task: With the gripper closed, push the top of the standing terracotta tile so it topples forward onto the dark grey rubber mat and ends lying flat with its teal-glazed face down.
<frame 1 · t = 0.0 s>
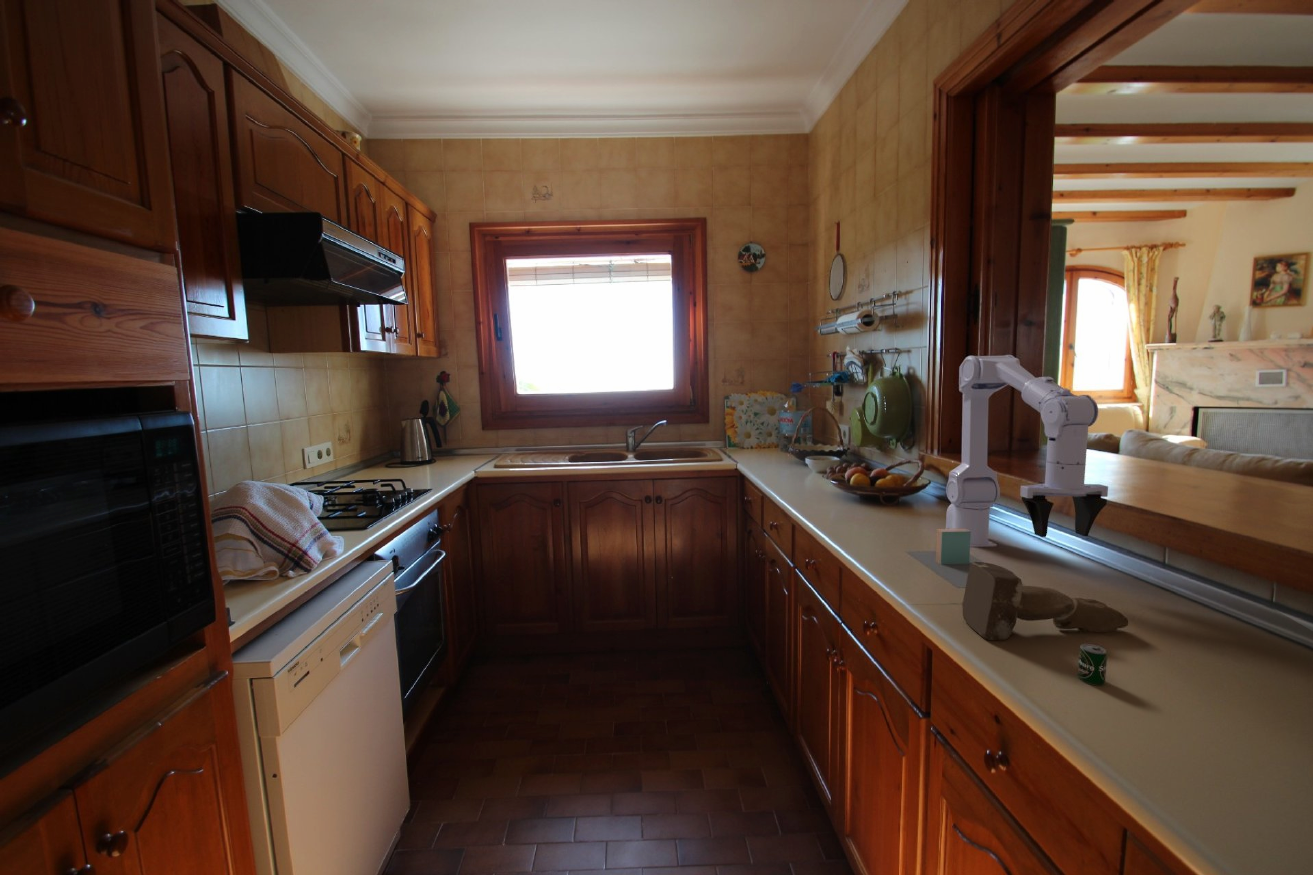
hand: (1060, 535, 100), 10 cm above the worktop, tool pointing down, fingers open, 7 cm apart
tile: (952, 562, 114), resting on mat
beer can: (1091, 681, 71), on the worktop
sculpture: (1045, 632, 85), on the worktop
mat: (960, 568, 111), on the worktop
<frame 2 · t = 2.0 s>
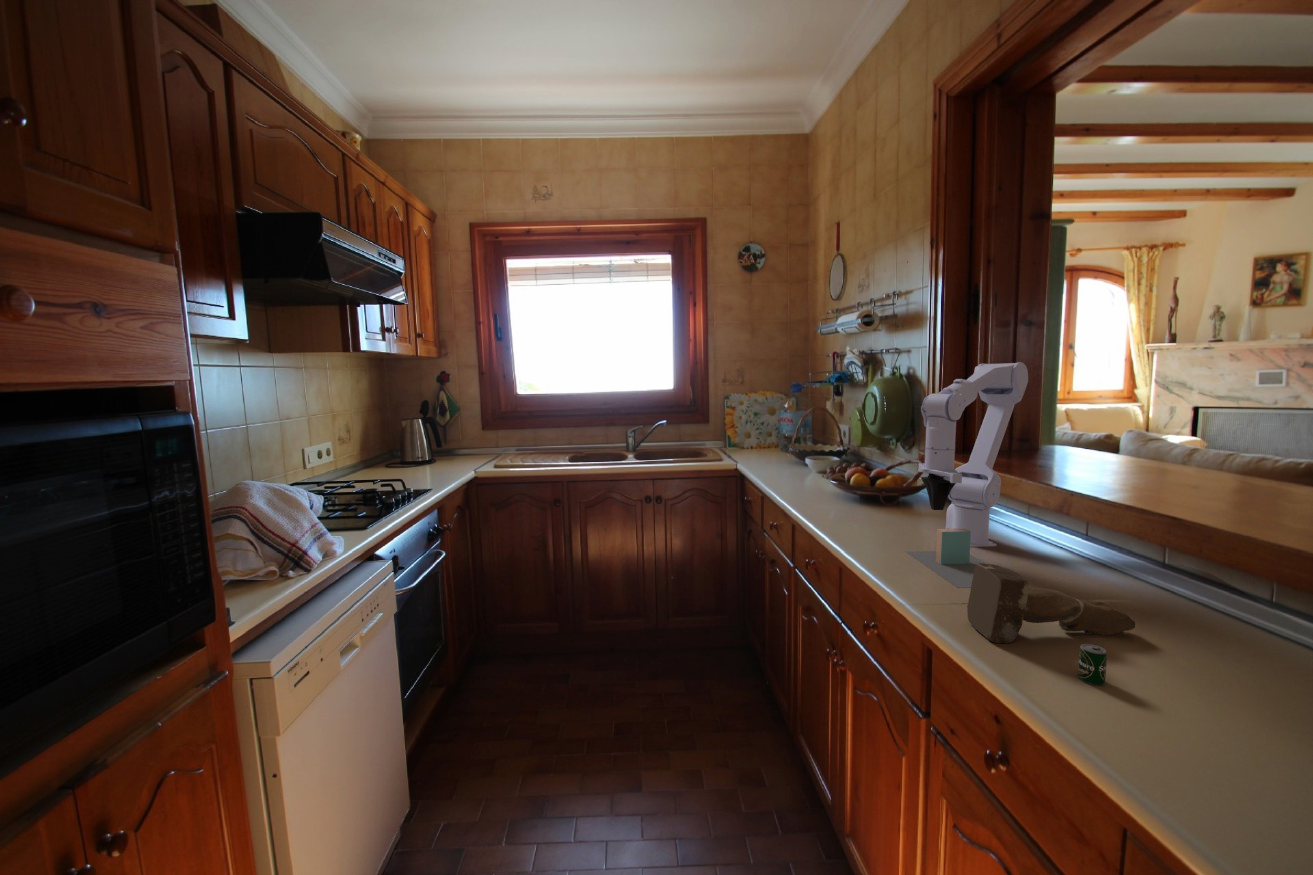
hand: (937, 509, 120), 10 cm above the worktop, tool pointing down, fingers closed
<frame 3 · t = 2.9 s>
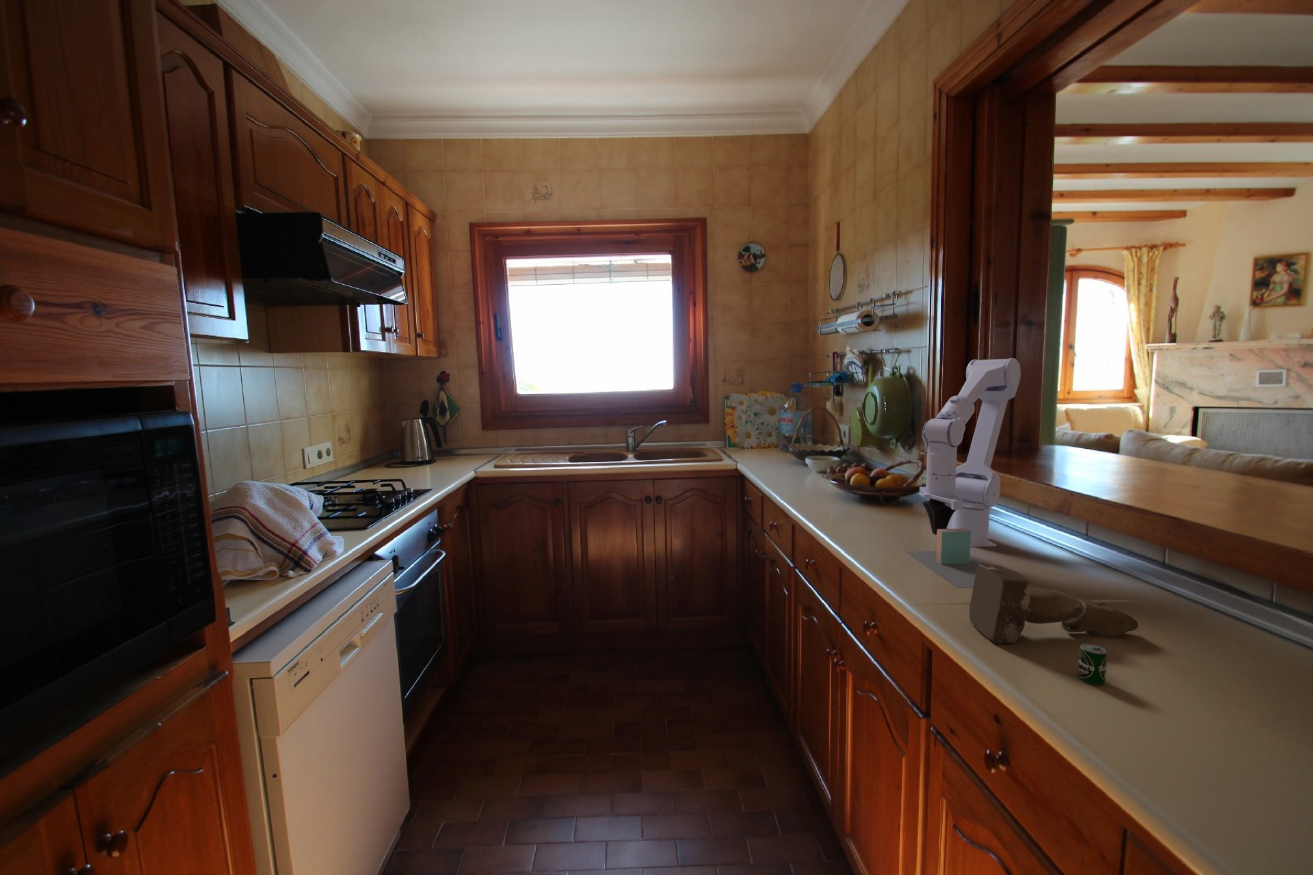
hand: (938, 534, 120), 5 cm above the worktop, tool pointing down, fingers closed
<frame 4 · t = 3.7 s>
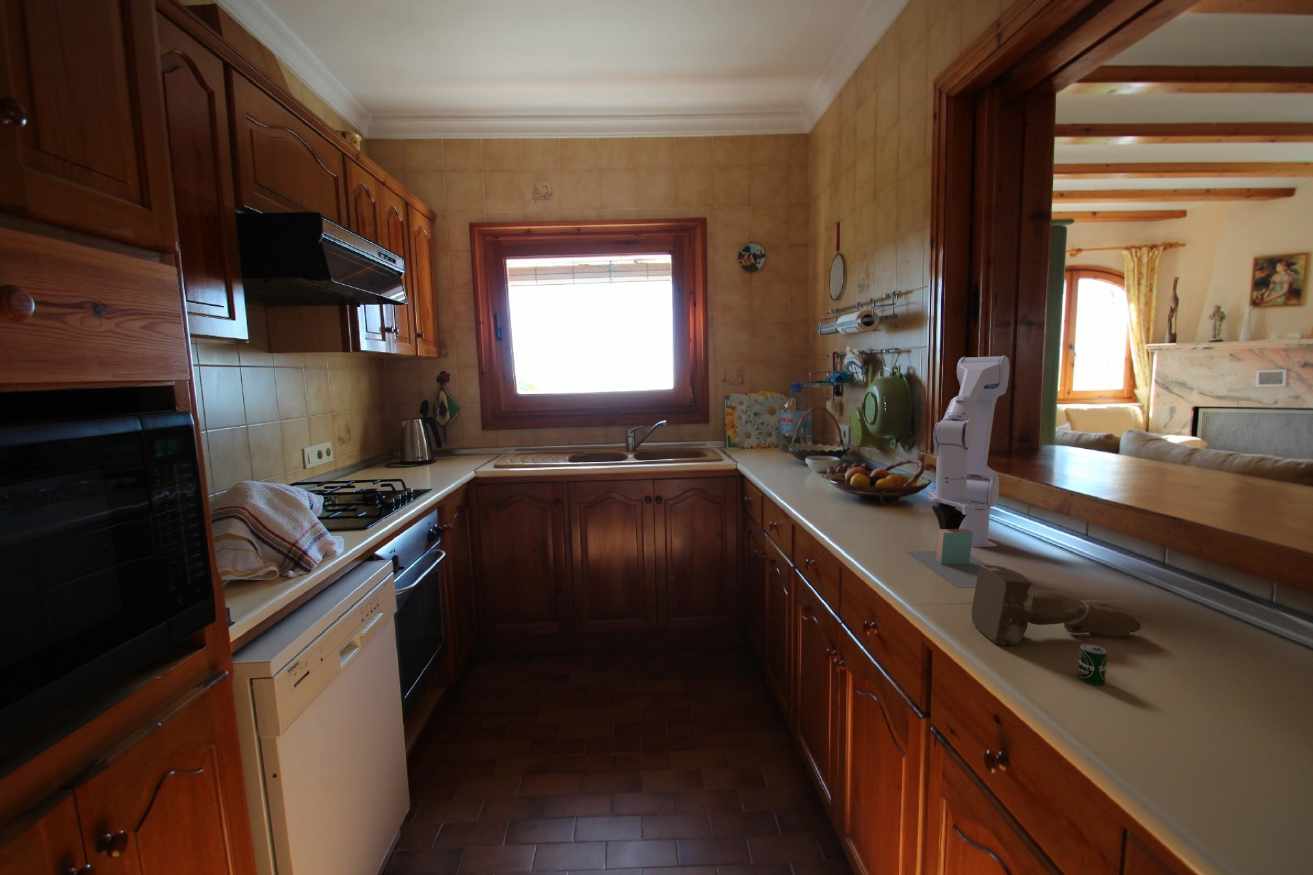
hand: (948, 539, 116), 5 cm above the worktop, tool pointing down, fingers closed
tile: (952, 561, 114), resting on mat, tilted 6°
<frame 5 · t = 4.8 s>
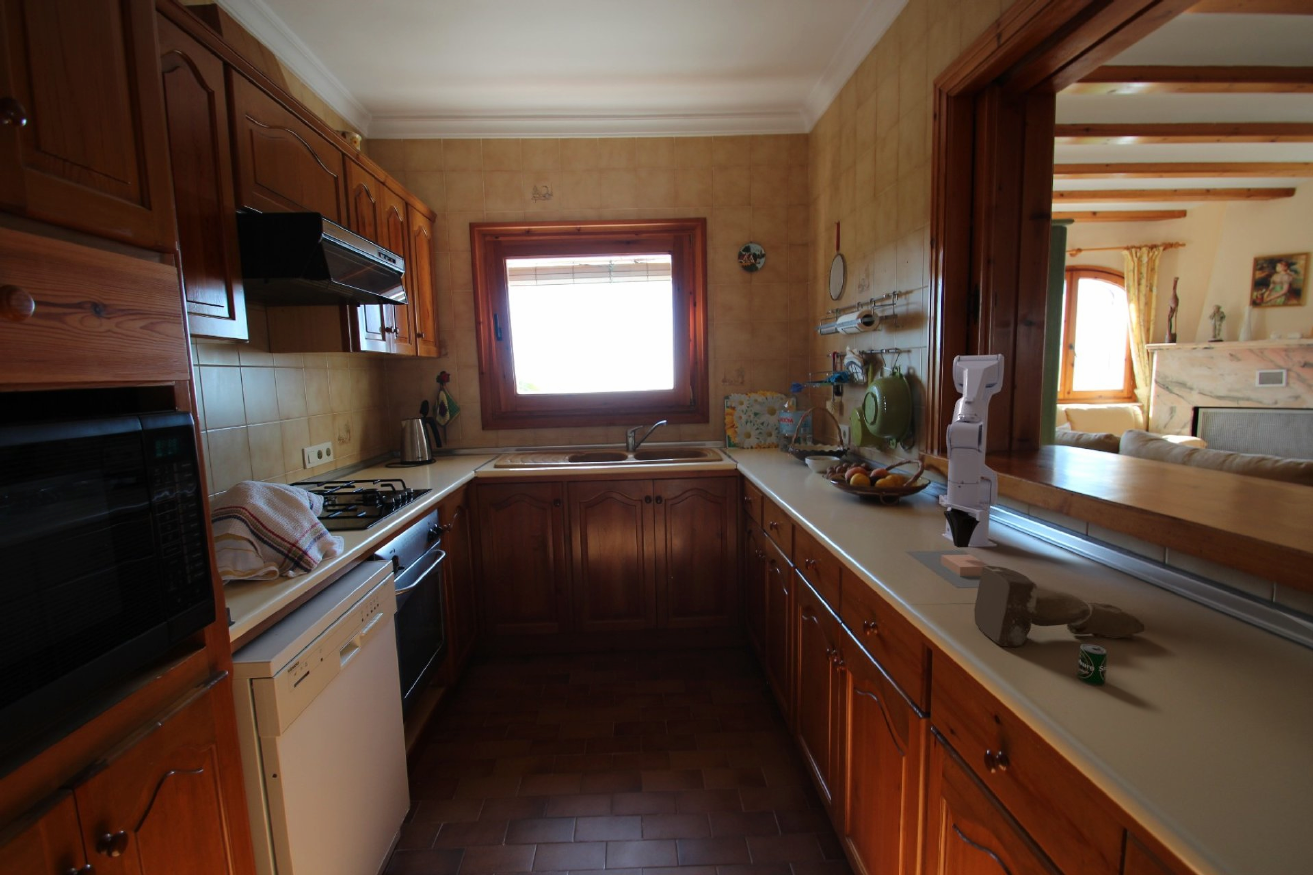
hand: (961, 546, 111), 5 cm above the worktop, tool pointing down, fingers closed
tile: (955, 559, 113), point 1 cm above the worktop, tilted 90°, touching mat
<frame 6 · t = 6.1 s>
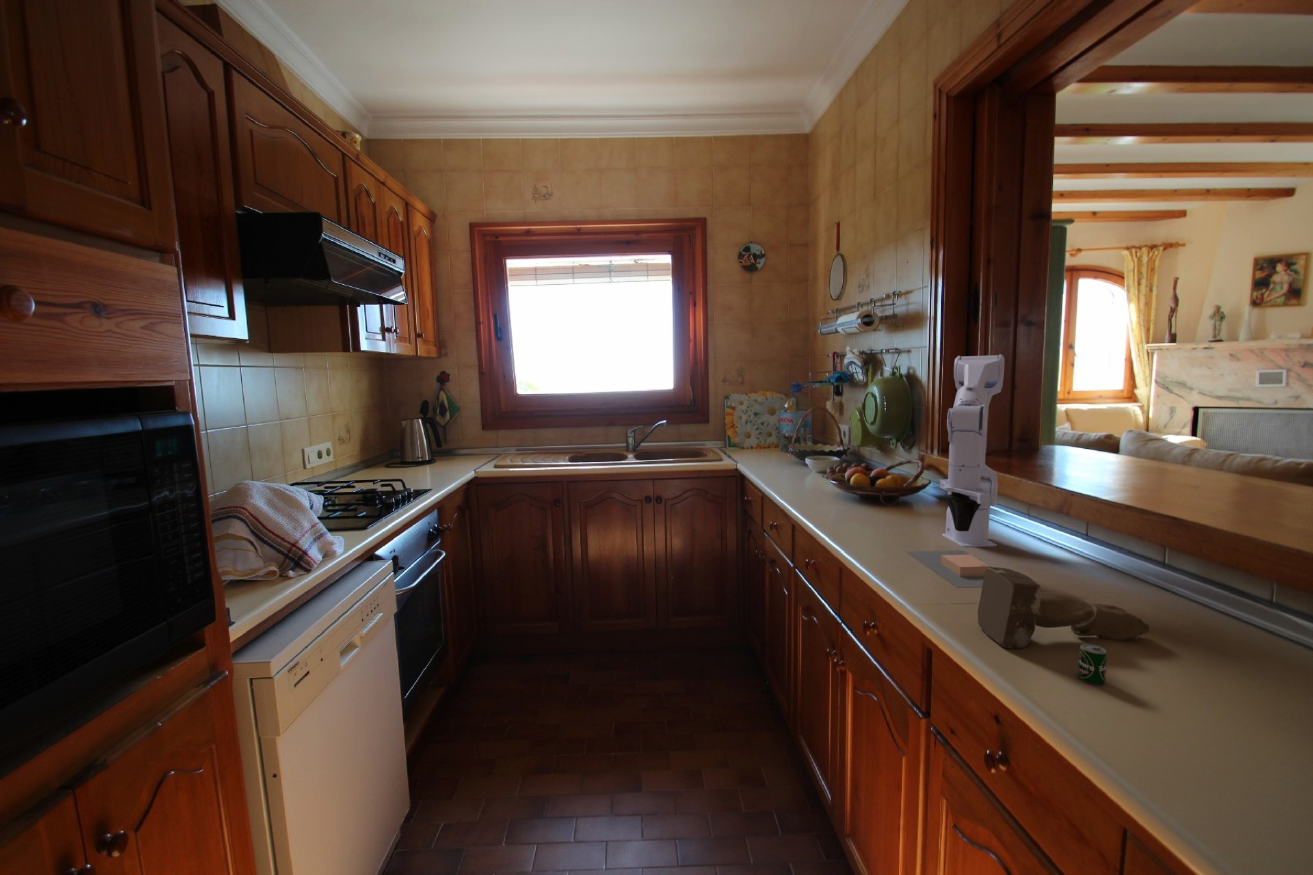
hand: (961, 530, 111), 8 cm above the worktop, tool pointing down, fingers closed
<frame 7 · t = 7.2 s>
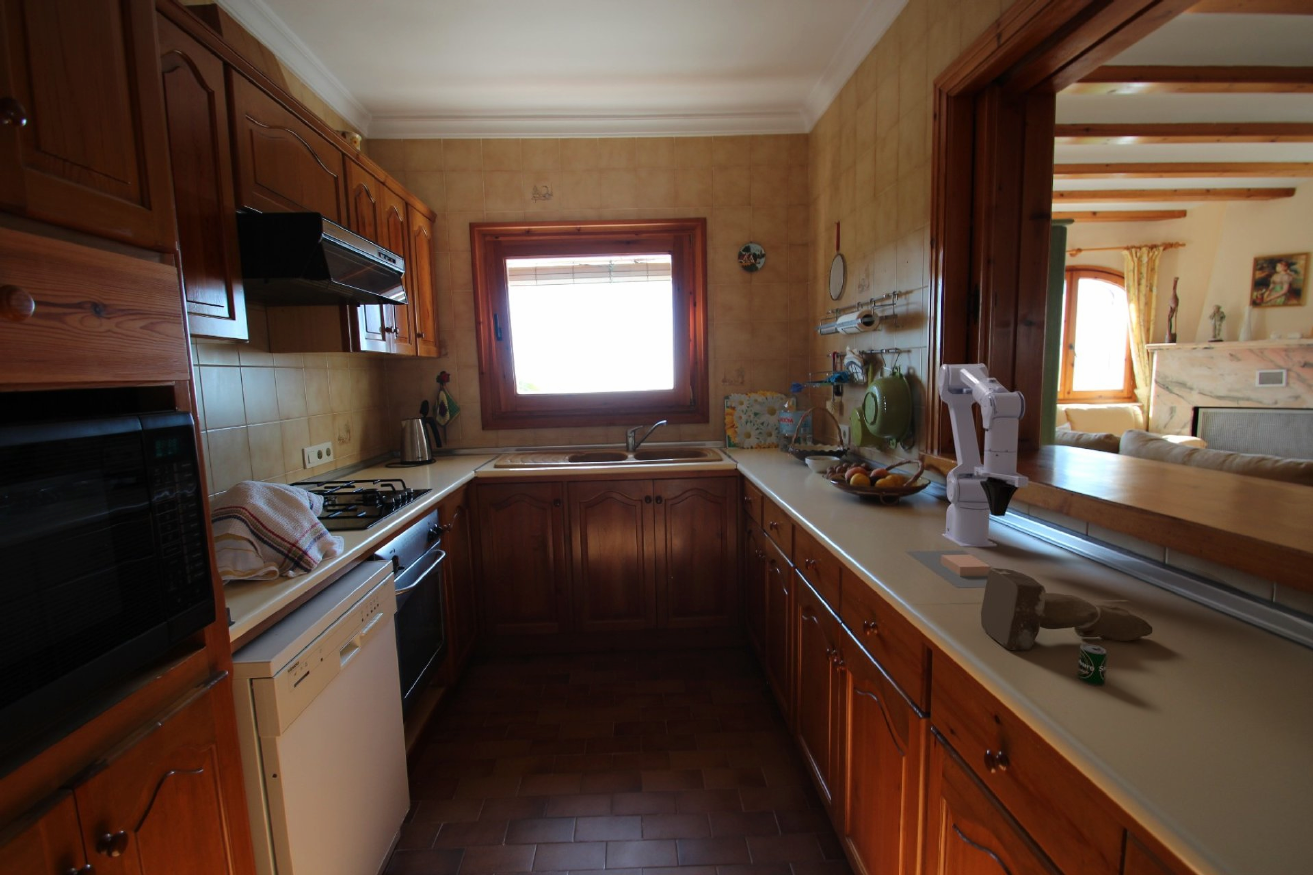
hand: (997, 515, 113), 10 cm above the worktop, tool pointing down, fingers closed
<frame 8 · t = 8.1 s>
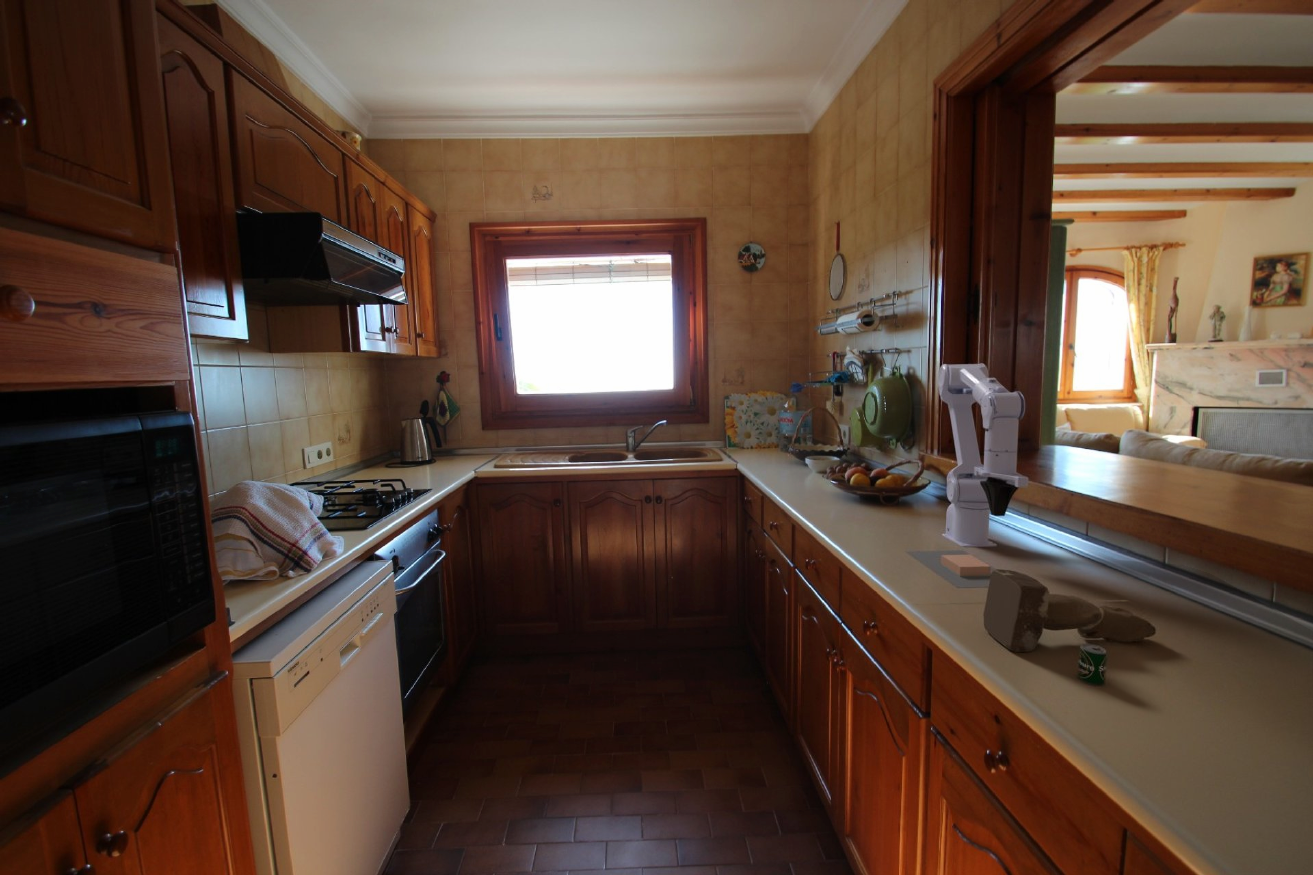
hand: (997, 515, 113), 10 cm above the worktop, tool pointing down, fingers closed
at the end: tile tilted 90°; tile inside the target area (3.8 cm from its centre), point 1.4 cm above the worktop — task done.
